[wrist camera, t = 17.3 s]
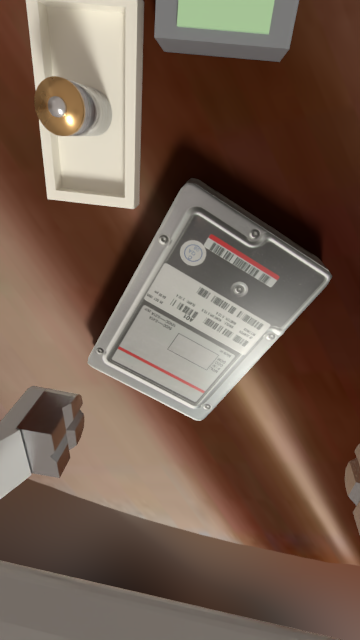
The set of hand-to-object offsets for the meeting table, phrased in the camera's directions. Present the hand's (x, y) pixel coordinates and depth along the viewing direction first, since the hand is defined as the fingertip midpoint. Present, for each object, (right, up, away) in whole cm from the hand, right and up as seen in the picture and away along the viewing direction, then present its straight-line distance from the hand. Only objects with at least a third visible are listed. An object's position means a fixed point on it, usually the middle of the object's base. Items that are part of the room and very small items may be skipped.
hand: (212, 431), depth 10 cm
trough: (-10, +24, +23) cm, 35 cm away
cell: (-10, +24, +23) cm, 34 cm away
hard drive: (+1, +5, +34) cm, 34 cm away
